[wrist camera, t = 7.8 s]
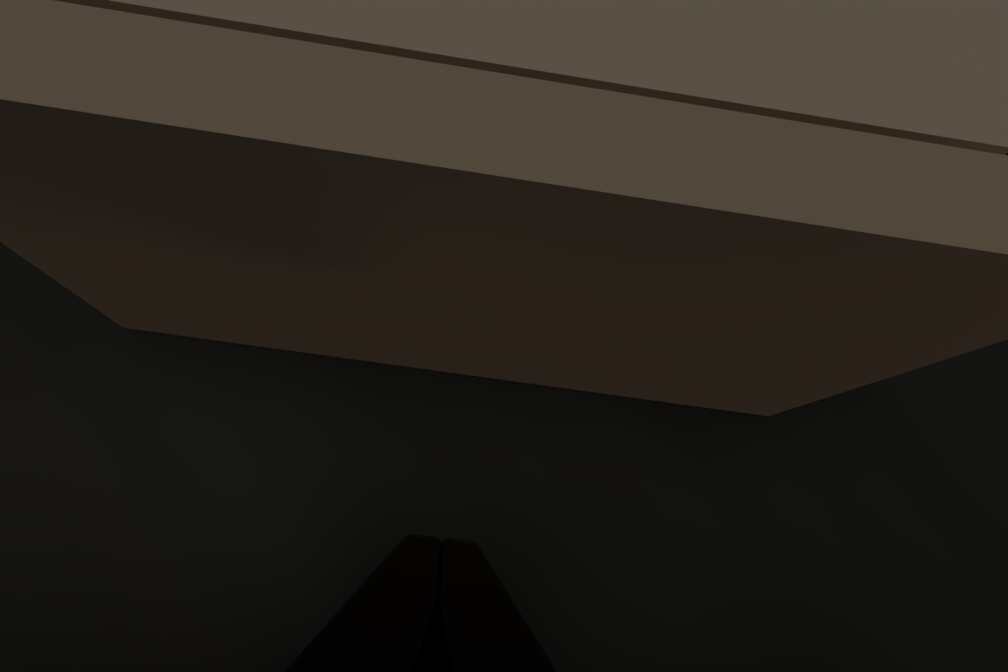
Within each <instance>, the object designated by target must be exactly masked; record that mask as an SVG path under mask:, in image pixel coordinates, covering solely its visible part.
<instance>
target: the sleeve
mask: <svg viewBox="0 0 1008 672" xmlns="http://www.w3.org/2000/svg"><path fill="white" fill-rule="evenodd" d="M54 1H61V2H67V3H73V4H79V5H85V6H91V7H97V8H104V9H110V10H116V11H122V12H128V13H134V14H141V15H147V16H153V17H159V18H165V19H171V20H177V21H184V22H190V23H196V24H202V25H208V26H214V27H220V28H227V29H233V30H239V31H245V32H251V33H257V34H263V35H270V36H276V37H282V38H288V39H294V40H300V41H307V42H313V43H319V44H325V45H331V46H337V47H343V48H350V49H356V50H362V51H368V52H374V53H380V54H386V55H393V56H399V57H405V58H411V59H417V60H423V61H429V62H436V63H442V64H448V65H454V66H460V67H466V68H472V69H479V70H485V71H491V72H497V73H503V74H509V75H516V76H522V77H528V78H534V79H540V80H546V81H552V82H559V83H565V84H571V85H577V86H583V87H589V88H595V89H602V90H608V91H614V92H620V93H626V94H632V95H638V96H645V97H651V98H657V99H663V100H669V101H675V102H681V103H688V104H694V105H700V106H706V107H712V108H718V109H725V110H731V111H737V112H743V113H749V114H755V115H761V116H768V117H774V118H780V119H786V120H792V121H798V122H804V123H811V124H817V125H823V126H829V127H835V128H841V129H847V130H854V131H860V132H866V133H872V134H878V135H884V136H890V137H897V138H903V139H909V140H915V141H921V142H927V143H934V144H940V145H946V146H952V147H958V148H964V149H970V150H977V151H983V152H989V153H995V154H1001V155H1005V154H1006V153H1008V0H54Z"/></svg>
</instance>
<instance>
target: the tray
mask: <svg viewBox="0 0 1008 672" xmlns="http://www.w3.org/2000/svg"><path fill="white" fill-rule="evenodd" d="M0 242H1V243H3V244H4V245H6V246H7V247H9V248H10V249H11V250H13V251H14V252H16V253H17V254H19V255H20V256H21V257H23V258H24V259H26V260H27V261H29V262H30V263H31V264H33V265H34V266H36V267H37V268H39V269H40V270H41V271H43V272H44V273H46V274H47V275H49V276H50V277H52V278H53V279H54V280H56V281H57V282H59V283H60V284H62V285H63V286H64V287H66V288H67V289H69V290H70V291H72V292H73V293H74V294H76V295H77V296H79V297H80V298H82V299H83V300H84V301H86V302H87V303H89V304H90V305H92V306H93V307H95V308H96V309H97V310H99V311H100V312H102V313H103V314H105V315H106V316H107V317H109V318H110V319H112V320H113V321H115V322H116V323H117V324H119V325H120V326H122V327H123V328H129V329H136V330H144V331H151V332H158V333H165V334H173V335H180V336H187V337H195V338H202V339H209V340H216V341H224V342H231V343H238V344H246V345H253V346H260V347H267V348H275V349H282V350H289V351H297V352H304V353H311V354H318V355H326V356H333V357H340V358H348V359H355V360H362V361H369V362H377V363H384V364H391V365H399V366H406V367H413V368H420V369H428V370H435V371H442V372H450V373H457V374H464V375H471V376H479V377H486V378H493V379H501V380H508V381H515V382H522V383H530V384H537V385H544V386H552V387H559V388H566V389H573V390H581V391H588V392H595V393H603V394H610V395H617V396H624V397H632V398H639V399H646V400H654V401H661V402H668V403H675V404H683V405H690V406H697V407H705V408H712V409H719V410H726V411H734V412H741V413H748V414H756V415H763V416H770V415H773V414H776V413H780V412H783V411H786V410H789V409H792V408H795V407H798V406H801V405H805V404H808V403H811V402H814V401H817V400H820V399H823V398H826V397H829V396H833V395H836V394H839V393H842V392H845V391H848V390H851V389H854V388H857V387H861V386H864V385H867V384H870V383H873V382H876V381H879V380H882V379H886V378H889V377H892V376H895V375H898V374H901V373H904V372H907V371H910V370H914V369H917V368H920V367H923V366H926V365H929V364H932V363H935V362H939V361H942V360H945V359H948V358H951V357H954V356H957V355H960V354H963V353H967V352H970V351H973V350H976V349H979V348H982V347H985V346H988V345H991V344H995V343H998V342H1001V341H1004V340H1007V339H1008V156H1007V155H1001V154H995V153H989V152H983V151H977V150H970V149H964V148H958V147H952V146H946V145H940V144H934V143H927V142H921V141H915V140H909V139H903V138H897V137H890V136H884V135H878V134H872V133H866V132H860V131H854V130H847V129H841V128H835V127H829V126H823V125H817V124H811V123H804V122H798V121H792V120H786V119H780V118H774V117H768V116H761V115H755V114H749V113H743V112H737V111H731V110H725V109H718V108H712V107H706V106H700V105H694V104H688V103H681V102H675V101H669V100H663V99H657V98H651V97H645V96H638V95H632V94H626V93H620V92H614V91H608V90H602V89H595V88H589V87H583V86H577V85H571V84H565V83H559V82H552V81H546V80H540V79H534V78H528V77H522V76H516V75H509V74H503V73H497V72H491V71H485V70H479V69H472V68H466V67H460V66H454V65H448V64H442V63H436V62H429V61H423V60H417V59H411V58H405V57H399V56H393V55H386V54H380V53H374V52H368V51H362V50H356V49H350V48H343V47H337V46H331V45H325V44H319V43H313V42H307V41H300V40H294V39H288V38H282V37H276V36H270V35H263V34H257V33H251V32H245V31H239V30H233V29H227V28H220V27H214V26H208V25H202V24H196V23H190V22H184V21H177V20H171V19H165V18H159V17H153V16H147V15H141V14H134V13H128V12H122V11H116V10H110V9H104V8H97V7H91V6H85V5H79V4H73V3H67V2H61V1H54V0H0Z"/></svg>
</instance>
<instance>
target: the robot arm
mask: <svg viewBox="0 0 1008 672" xmlns="http://www.w3.org/2000/svg"><path fill="white" fill-rule="evenodd" d="M285 672H556V670H555V669H554V667H553V666H552V664H551V662H550V661H549V659H548V657H547V656H546V654H545V653H544V651H543V649H542V648H541V646H540V645H539V643H538V641H537V640H536V638H535V636H534V635H533V633H532V632H531V630H530V628H529V627H528V625H527V624H526V622H525V620H524V619H523V617H522V615H521V614H520V612H519V611H518V609H517V607H516V606H515V604H514V603H513V601H512V599H511V598H510V596H509V594H508V593H507V591H506V590H505V588H504V586H503V585H502V583H501V582H500V580H499V578H498V577H497V575H496V573H495V572H494V570H493V569H492V567H491V565H490V564H489V562H488V560H487V559H486V557H485V556H484V554H483V552H482V551H481V549H480V548H479V546H478V545H477V544H476V543H475V542H472V541H464V540H456V539H445V540H443V542H442V544H441V542H440V540H439V539H438V538H437V537H431V536H423V535H415V534H409V535H407V536H405V537H404V538H403V539H402V540H401V542H400V543H399V544H398V545H397V546H396V547H395V548H394V549H393V551H392V552H391V553H390V554H389V555H388V556H387V557H386V558H385V560H384V561H383V562H382V563H381V564H380V565H379V566H378V567H377V569H376V570H375V571H374V572H373V573H372V574H371V575H370V576H369V578H368V579H367V580H366V581H365V582H364V583H363V584H362V585H361V586H360V588H359V589H358V590H357V591H356V592H355V593H354V594H353V595H352V597H351V598H350V599H349V600H348V601H347V602H346V603H345V604H344V606H343V607H342V608H341V609H340V610H339V611H338V612H337V613H336V615H335V616H334V617H333V618H332V619H331V620H330V621H329V622H328V624H327V625H326V626H325V627H324V628H323V629H322V630H321V631H320V633H319V634H318V635H317V636H316V637H315V638H314V639H313V640H312V642H311V643H310V644H309V645H308V646H307V647H306V648H305V649H304V651H303V652H302V653H301V654H300V655H299V656H298V657H297V658H296V660H295V661H294V662H293V663H292V664H291V665H290V666H289V667H288V669H287V670H286V671H285Z"/></svg>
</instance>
